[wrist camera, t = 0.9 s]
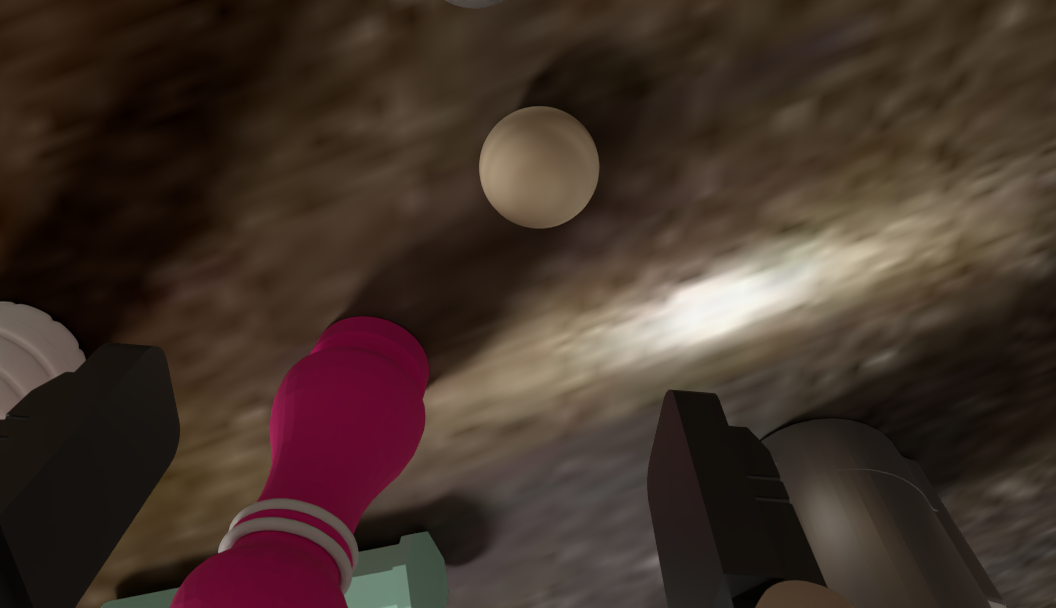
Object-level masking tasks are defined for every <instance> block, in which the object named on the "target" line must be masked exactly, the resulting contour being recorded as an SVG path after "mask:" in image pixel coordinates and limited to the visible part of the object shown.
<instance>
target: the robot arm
mask: <svg viewBox="0 0 1056 608" xmlns="http://www.w3.org/2000/svg"><path fill="white" fill-rule="evenodd" d="M179 436H180V423H179V418H178V413H177V408H176V403H175V398H174V393H173V388H172V383H171V378H170V373H169V368H168V363H167V359H166V356H165V353H164V352H163V350H162V349H161V348H159V347H157V346H145V345H133V344H120V343H105V344H103V345H101V346H100V347H99V348H98V349H97V350H96V351H95V352H94V353H93V354H92V355H91V356H90V357H89V358H88V359H87V360H86V361H85V362H84V363H83V364H82V365H81V366H80V367H79V368H78V369H77V370H76V371H75V372H64V373H62V374H61V375H59V376H57V377H55V378H53V379H51V380H50V381H48V382H46V383H44V384H42V385H41V386H39V387H37V388H35V389H33V390H31V391H30V392H29V393H28V394H27V395H26V396H25V397H24V398H23V399H22V400H21V401H20V402H18V403H17V404H16V405H15V406H14V407H13V408H12V409H11V410H10V411H9V412H8V413H7V414H6V418H5V420H2V419H1V420H0V608H75V607H76V605H77V604H78V602H79V601H80V599H81V598H82V596H83V595H84V593H85V592H86V590H87V589H88V587H89V586H90V584H91V583H92V581H93V580H94V578H95V577H96V575H97V574H98V572H99V571H100V569H101V568H102V566H103V565H104V563H105V562H106V560H107V559H108V557H109V556H110V554H111V553H112V551H113V550H114V548H115V547H116V545H117V544H118V542H119V541H120V539H121V538H122V536H123V535H124V533H125V531H126V530H127V528H128V527H129V525H130V524H131V522H132V521H133V519H134V518H135V516H136V515H137V513H138V512H139V510H140V509H141V507H142V506H143V504H144V503H145V501H146V500H147V498H148V497H149V495H150V494H151V492H152V491H153V489H154V488H155V486H156V485H157V483H158V482H159V480H160V479H161V477H162V476H163V474H164V473H165V471H166V470H167V468H168V467H169V465H170V464H171V462H172V460H173V458H174V456H175V453H176V451H177V447H178V443H179ZM647 490H648V501H649V506H650V512H651V517H652V523H653V528H654V533H655V539H656V544H657V550H658V555H659V561H660V566H661V571H662V577H663V582H664V588H665V593H666V598H667V604H668V608H1006V605H1005V603H1004V601H1003V599H1002V597H1001V596H1000V594H999V593H998V591H997V589H996V588H995V586H994V585H993V583H992V581H991V580H990V578H989V577H988V575H987V573H986V572H985V570H984V568H983V567H982V565H981V564H980V562H979V560H978V559H977V557H976V556H975V554H974V552H973V551H972V549H971V548H970V546H969V544H968V543H967V541H966V540H965V538H964V536H963V535H962V533H961V532H960V530H959V528H958V527H957V525H956V524H955V522H954V520H953V519H952V517H951V516H950V514H949V512H948V511H947V509H946V507H945V506H944V504H943V503H942V501H941V499H940V498H939V496H938V495H937V493H936V491H935V490H934V488H933V487H932V485H931V483H930V482H929V480H928V479H927V477H926V475H925V474H924V472H923V471H922V469H921V467H920V466H919V464H918V463H917V462H916V461H914V460H910V459H907V458H905V457H903V456H901V455H900V453H899V452H898V451H897V449H896V448H895V446H894V444H893V443H892V441H891V440H889V439H888V438H887V437H886V436H885V435H884V434H883V433H881V432H880V431H878V430H876V429H874V428H872V427H870V426H868V425H867V424H863V423H859V422H856V421H852V420H845V419H835V418H829V419H815V420H810V421H805V422H801V423H797V424H794V425H791V426H789V427H786V428H784V429H781V430H779V431H777V432H775V433H774V434H772V435H770V436H769V437H767V438H765V439H764V440H762V441H760V440H759V439H758V438H757V437H756V436H755V435H754V434H753V433H752V432H751V431H750V430H749V429H748V428H747V427H735V426H729V425H728V423H727V420H726V417H725V414H724V412H723V409H722V406H721V403H720V401H719V398H718V396H717V395H716V394H715V393H705V392H693V391H681V390H668V391H667V392H666V394H665V397H664V401H663V405H662V409H661V413H660V417H659V422H658V426H657V430H656V435H655V439H654V443H653V447H652V452H651V456H650V461H649V467H648V478H647Z"/></svg>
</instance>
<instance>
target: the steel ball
mask: <svg viewBox="0 0 1056 608" xmlns="http://www.w3.org/2000/svg"><path fill="white" fill-rule="evenodd" d="M445 1H447V2H449V3H451V4H454V5H457V6H461V7H465V8H485V7H490V6H493V5H496V4H499V3H501V2H503V1H505V0H445Z"/></svg>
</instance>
